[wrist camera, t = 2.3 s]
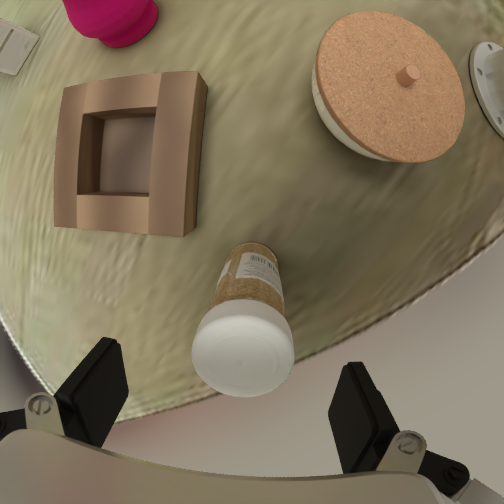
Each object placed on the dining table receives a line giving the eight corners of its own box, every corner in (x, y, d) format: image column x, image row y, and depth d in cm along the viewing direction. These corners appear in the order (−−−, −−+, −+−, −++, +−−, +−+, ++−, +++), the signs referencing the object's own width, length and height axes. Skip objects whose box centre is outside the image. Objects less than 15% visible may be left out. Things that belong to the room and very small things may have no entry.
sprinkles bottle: (214, 262, 24) (167, 352, 12) (257, 229, 24) (251, 296, 11) (247, 301, 25) (234, 413, 12) (290, 272, 24) (315, 371, 12)
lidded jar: (320, 177, 22) (357, 178, 13) (284, 59, 20) (296, 0, 11) (427, 155, 21) (495, 153, 12) (393, 48, 19) (443, 6, 10)
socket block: (207, 86, 21) (197, 71, 17) (195, 227, 24) (183, 237, 20) (87, 96, 21) (64, 88, 17) (79, 218, 24) (54, 226, 20)
